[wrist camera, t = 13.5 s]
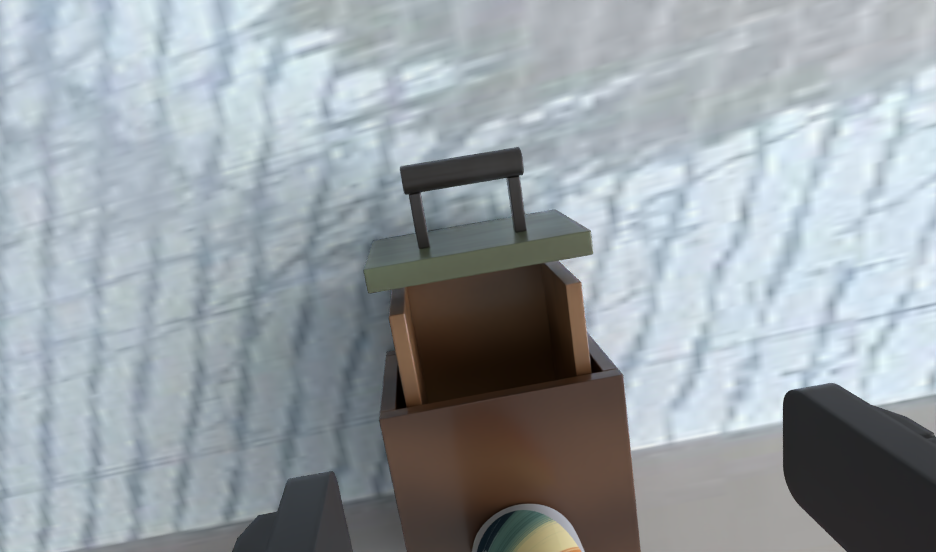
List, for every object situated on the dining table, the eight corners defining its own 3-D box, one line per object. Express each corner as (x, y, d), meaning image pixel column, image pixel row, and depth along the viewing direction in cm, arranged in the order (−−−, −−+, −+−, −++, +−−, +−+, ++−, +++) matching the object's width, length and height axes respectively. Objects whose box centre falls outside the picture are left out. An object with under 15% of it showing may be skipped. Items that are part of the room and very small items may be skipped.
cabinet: (386, 351, 38) (378, 419, 29) (575, 317, 39) (623, 374, 30) (426, 548, 42) (430, 661, 33) (598, 514, 43) (647, 616, 34)
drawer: (357, 168, 34) (344, 179, 27) (547, 136, 35) (581, 140, 28) (413, 446, 39) (414, 517, 32) (580, 415, 40) (617, 478, 32)
